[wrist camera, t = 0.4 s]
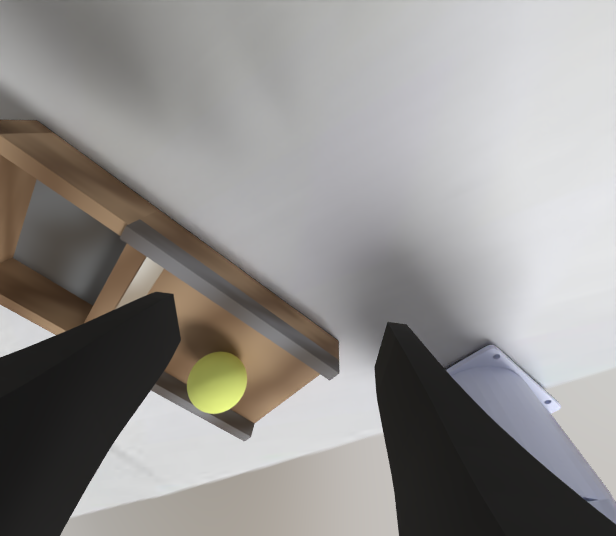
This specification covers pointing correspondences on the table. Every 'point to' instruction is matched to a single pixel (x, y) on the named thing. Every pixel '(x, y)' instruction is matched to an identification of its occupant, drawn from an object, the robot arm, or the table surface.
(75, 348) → the robot arm
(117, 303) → the wooden tray
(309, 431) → the table surface
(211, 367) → the ball
